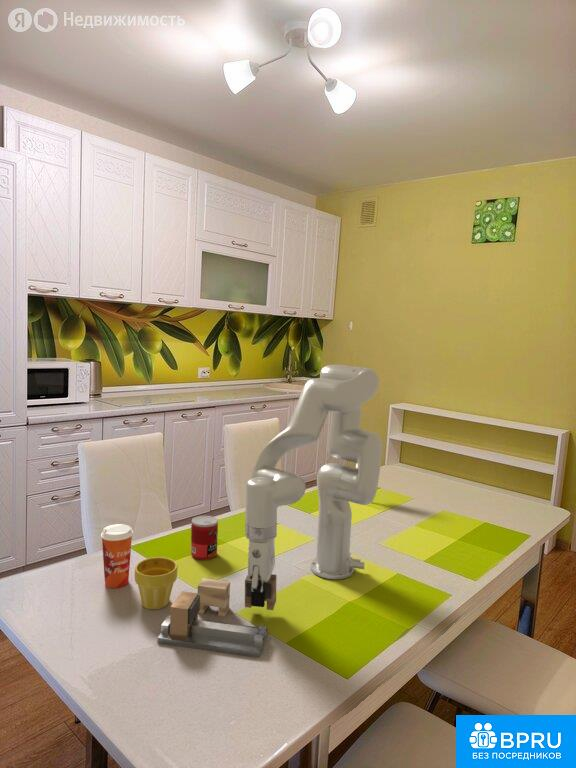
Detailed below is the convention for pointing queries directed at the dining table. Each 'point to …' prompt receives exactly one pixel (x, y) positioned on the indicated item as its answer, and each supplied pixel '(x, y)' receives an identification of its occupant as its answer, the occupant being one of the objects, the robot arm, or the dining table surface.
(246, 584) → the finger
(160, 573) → the plant pot
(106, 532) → the coffee cup
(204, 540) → the canned food
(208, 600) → the tan notched block
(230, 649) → the rail
